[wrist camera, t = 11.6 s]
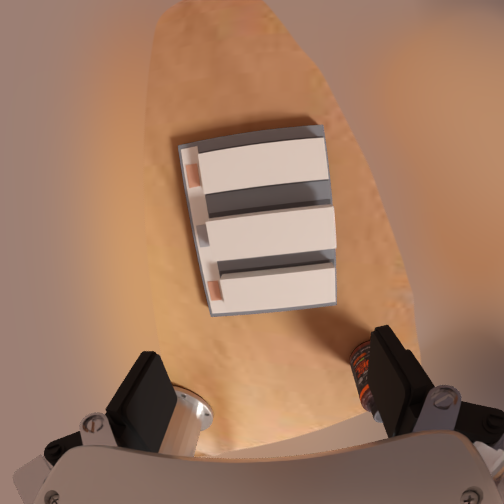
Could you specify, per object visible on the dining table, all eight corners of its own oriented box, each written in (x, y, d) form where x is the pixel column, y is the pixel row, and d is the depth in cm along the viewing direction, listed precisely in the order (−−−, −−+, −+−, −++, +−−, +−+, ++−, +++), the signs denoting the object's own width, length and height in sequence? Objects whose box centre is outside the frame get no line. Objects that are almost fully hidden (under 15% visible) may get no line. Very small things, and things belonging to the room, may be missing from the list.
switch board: (334, 299, 32) (337, 305, 30) (213, 310, 34) (210, 317, 32) (320, 126, 26) (323, 124, 24) (182, 146, 28) (177, 145, 26)
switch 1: (325, 178, 26) (328, 179, 25) (207, 192, 27) (204, 194, 26) (320, 139, 25) (323, 137, 23) (201, 154, 26) (197, 154, 25)
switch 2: (332, 295, 30) (335, 301, 29) (228, 305, 31) (226, 312, 30) (331, 262, 29) (334, 267, 27) (222, 274, 30) (219, 280, 29)
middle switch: (333, 243, 27) (336, 248, 25) (216, 256, 28) (212, 261, 27) (330, 204, 26) (333, 206, 24) (209, 218, 27) (205, 221, 26)
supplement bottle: (371, 331, 33) (399, 389, 23) (394, 350, 34) (422, 404, 23) (340, 358, 35) (356, 420, 24) (364, 375, 36) (383, 432, 25)
